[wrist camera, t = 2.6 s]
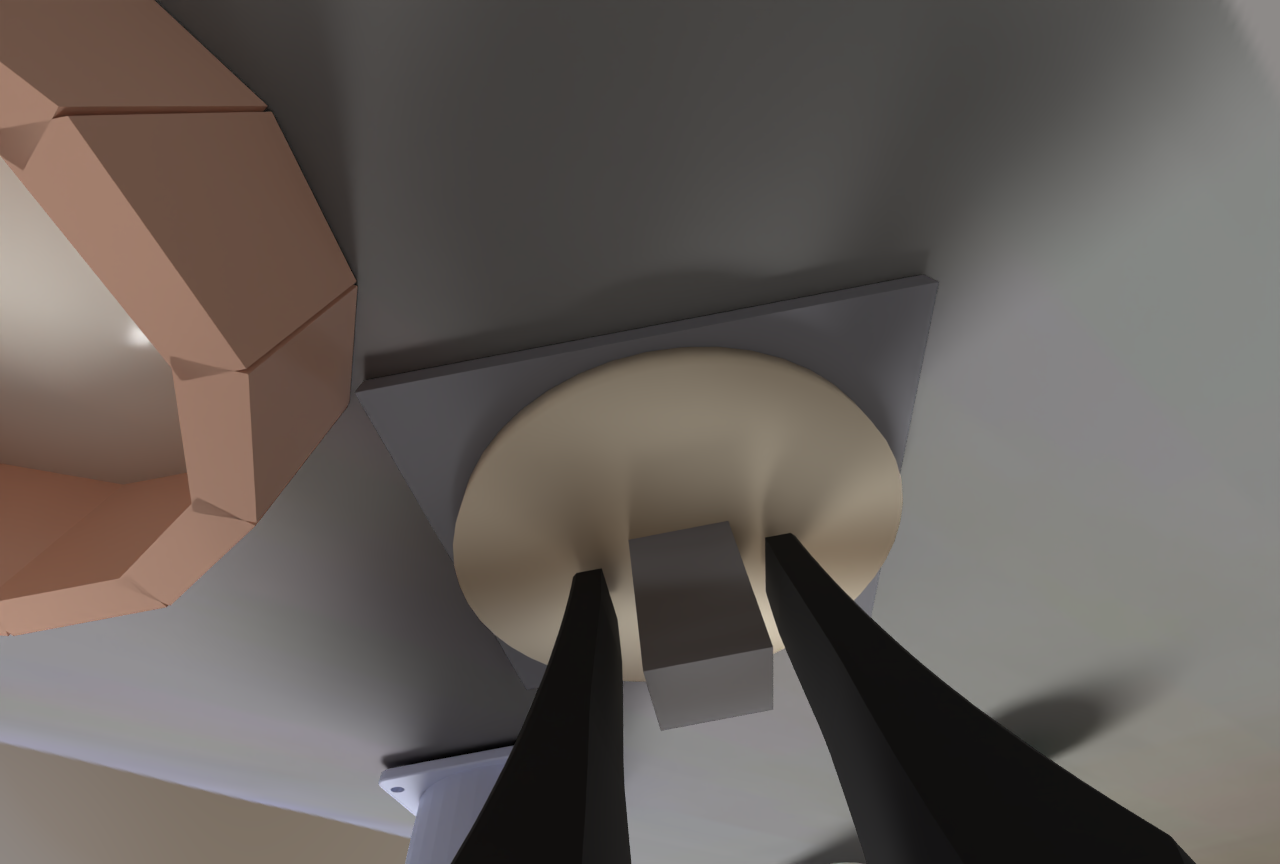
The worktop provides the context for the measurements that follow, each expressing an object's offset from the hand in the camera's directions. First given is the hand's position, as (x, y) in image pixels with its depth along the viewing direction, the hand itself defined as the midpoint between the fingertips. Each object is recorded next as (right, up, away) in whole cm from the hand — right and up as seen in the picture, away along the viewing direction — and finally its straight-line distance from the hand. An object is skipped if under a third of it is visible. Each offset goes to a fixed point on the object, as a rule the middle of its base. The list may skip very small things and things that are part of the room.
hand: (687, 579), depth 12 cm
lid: (0, +1, +1) cm, 1 cm away
